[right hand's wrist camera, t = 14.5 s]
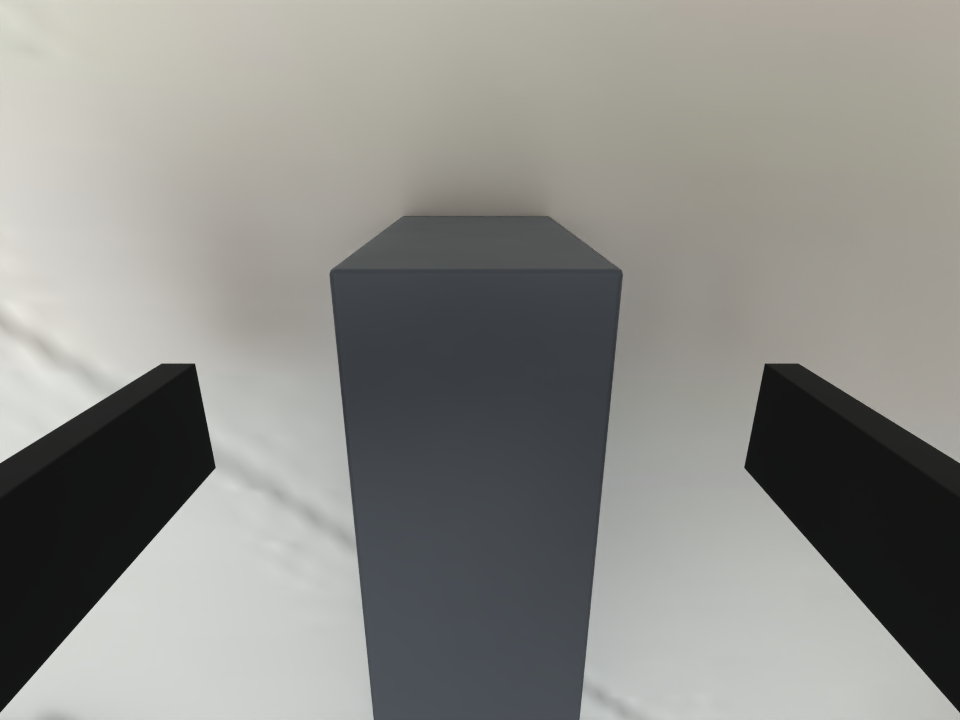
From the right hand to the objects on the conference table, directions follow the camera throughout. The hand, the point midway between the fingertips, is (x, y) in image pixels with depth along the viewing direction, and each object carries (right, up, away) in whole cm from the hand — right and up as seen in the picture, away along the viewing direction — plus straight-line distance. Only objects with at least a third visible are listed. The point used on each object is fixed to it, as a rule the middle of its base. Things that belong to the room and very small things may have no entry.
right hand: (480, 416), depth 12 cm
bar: (0, -32, +17) cm, 36 cm away
